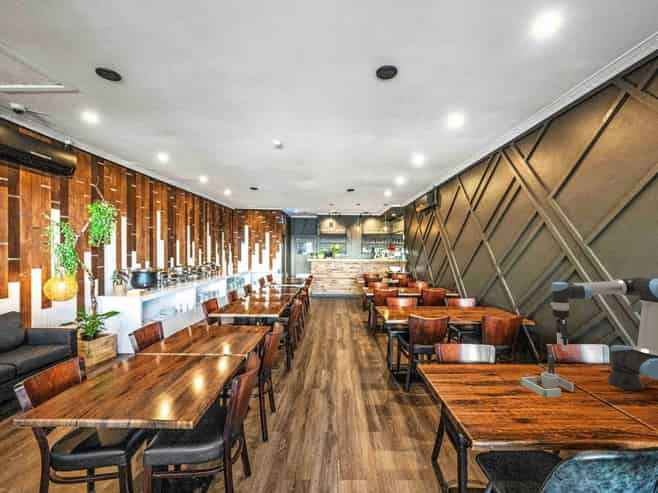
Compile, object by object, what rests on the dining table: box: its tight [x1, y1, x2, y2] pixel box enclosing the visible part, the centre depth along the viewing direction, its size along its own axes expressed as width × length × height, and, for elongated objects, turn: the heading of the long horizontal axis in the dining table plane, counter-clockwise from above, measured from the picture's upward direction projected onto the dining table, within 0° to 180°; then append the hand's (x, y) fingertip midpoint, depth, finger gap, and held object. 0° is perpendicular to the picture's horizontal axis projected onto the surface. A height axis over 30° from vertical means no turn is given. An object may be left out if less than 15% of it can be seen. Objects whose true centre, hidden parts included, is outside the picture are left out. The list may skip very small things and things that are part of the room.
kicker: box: [541, 354, 575, 392], centre depth 178 cm, size 6×20×15 cm, turn 7°
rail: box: [522, 374, 564, 384], centre depth 183 cm, size 22×5×3 cm, turn 97°
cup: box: [540, 372, 563, 389], centre depth 171 cm, size 11×8×8 cm
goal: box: [519, 376, 562, 399], centre depth 170 cm, size 10×17×4 cm, turn 7°
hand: (562, 347), depth 168 cm, fingers open, 13 cm apart
